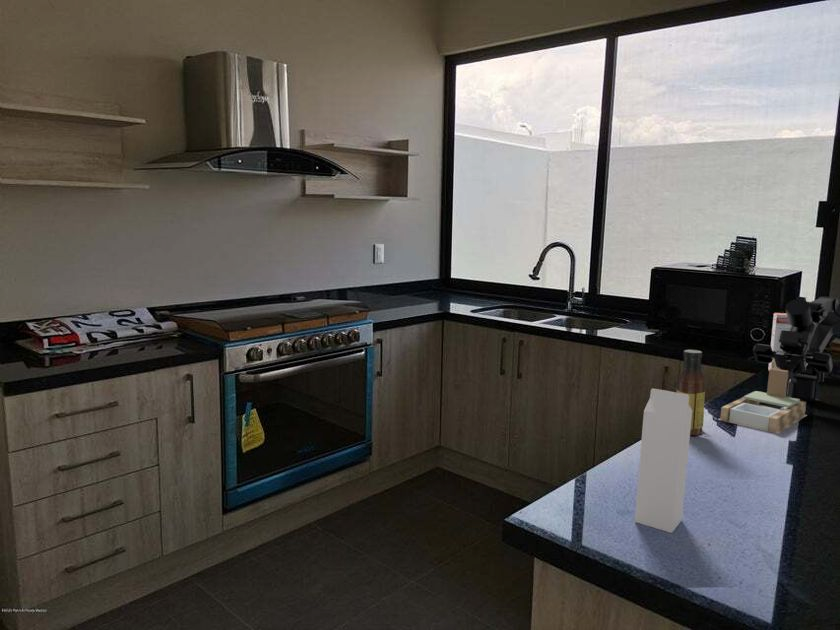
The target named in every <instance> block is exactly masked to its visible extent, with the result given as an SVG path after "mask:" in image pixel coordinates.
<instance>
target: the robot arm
mask: <svg viewBox="0 0 840 630" xmlns="http://www.w3.org/2000/svg"><path fill="white" fill-rule="evenodd" d="M785 313H787V317H788V321H789V324H790V325H792V326H791V329H790V331H786V330H781V334H780V338H779V342H780V343H781V344H780V349H782V350H777V351H772V348H771V344H770V345H769V344H763V343H756V344H755V345H754V346H753V348H752V353H753V356H754V359H755V362H757V363H761V364H766V365H769V363H771V362H772V360H773V359H775V363H776V366H777V367H778V368H780V369H781V370H787V371H789V372H788V380H787V382H788V383H787V391H786V397H790V398H795V399H800V401H804V402H820V399H818V398H817V392H818V385H819V382H824V380H825V374H831V373H832V370H833V366H834V365H833V360H832V356H831V355H830V353H824V350H825V349H826V346H827V345H828V343H829V341H830V340H831V337H832V336H834V335H836V334H840V302H839V298H837V297H833V296H832V297H831V296H818V298H817V299H814V300H812V301H807V296H806V297H804V296H797V298H796V299H792V300H790V301H789V302H788V303H786V304H785ZM813 322H814V323H815V324H814V323H813Z"/></svg>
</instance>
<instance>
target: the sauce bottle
mask: <svg viewBox="0 0 840 630" xmlns="http://www.w3.org/2000/svg"><path fill="white" fill-rule="evenodd" d="M682 355H683V366H682V371H680V374H679V375H678V378H677V383H676V393H682V394H687V395H689V406H690V408H691V409H692V418H691V429H690V436H691V435H696V436H700V435H702V433H703V427H704V417H705V397H706V390H705V386H706V378H705V377H704V374H703V373H702V367H701V366H702V363H701V362H702V358H703V352H702V351H701V350H697V349H685V350H683V354H682Z"/></svg>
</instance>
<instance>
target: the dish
mask: <svg viewBox="0 0 840 630" xmlns="http://www.w3.org/2000/svg"><path fill="white" fill-rule="evenodd" d="M762 406H763V405H762ZM762 406H757V405H752V404H747V403H742V404H740V405H738V406H735V407H733V408H731V409H730V418H729V421H731V422H735V423H739V424H744V425H748V426H752V427H757V428H761V429H765V430H769V422H770V417H772V416H774V415H776V414H777V413H779V412H781V410H782V409H781V410H776V409H777V408H776V409H772V408H773V407H772V408H767V407H768V406H767V407H762Z"/></svg>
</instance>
